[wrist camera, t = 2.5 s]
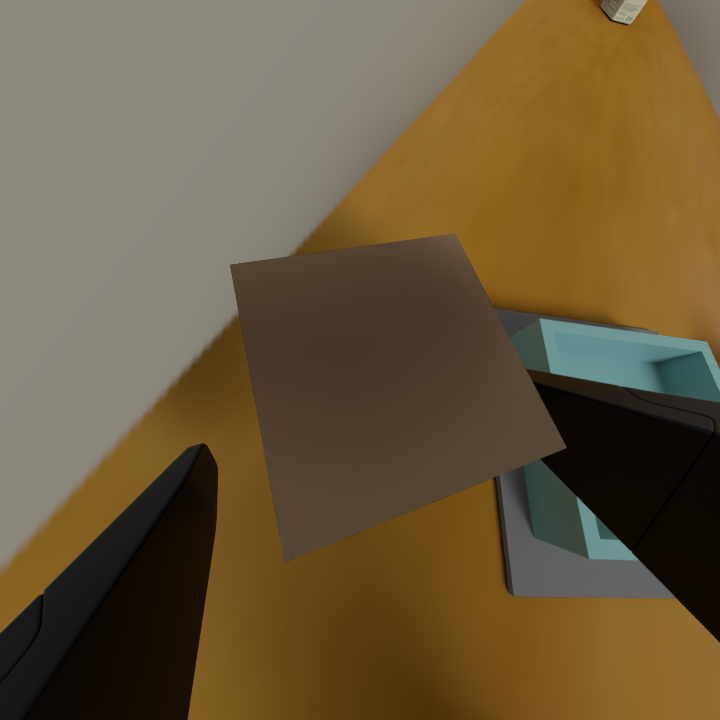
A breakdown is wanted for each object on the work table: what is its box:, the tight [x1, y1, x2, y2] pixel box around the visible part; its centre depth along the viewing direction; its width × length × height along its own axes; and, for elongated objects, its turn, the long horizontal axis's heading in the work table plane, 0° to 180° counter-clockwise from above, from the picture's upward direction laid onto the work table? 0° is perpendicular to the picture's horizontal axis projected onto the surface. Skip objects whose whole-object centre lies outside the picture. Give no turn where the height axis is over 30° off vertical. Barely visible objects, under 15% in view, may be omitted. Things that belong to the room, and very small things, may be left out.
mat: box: [494, 308, 676, 598], centre depth 18 cm, size 18×16×1 cm
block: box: [230, 234, 567, 562], centre depth 10 cm, size 4×4×12 cm
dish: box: [509, 318, 720, 560], centre depth 16 cm, size 13×13×3 cm
